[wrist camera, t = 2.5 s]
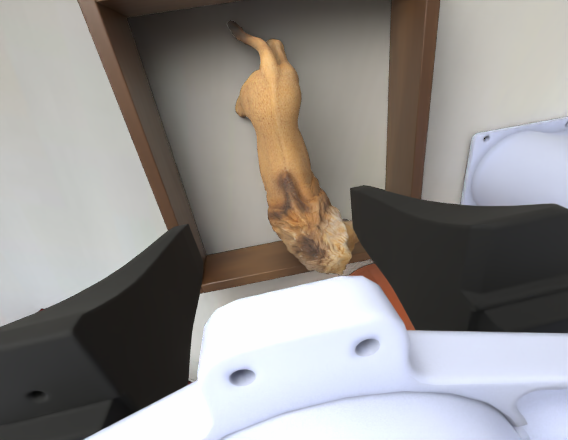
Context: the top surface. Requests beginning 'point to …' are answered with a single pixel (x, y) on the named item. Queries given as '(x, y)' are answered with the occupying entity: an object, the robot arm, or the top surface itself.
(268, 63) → the lion figurine
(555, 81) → the top surface
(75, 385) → the robot arm
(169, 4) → the wooden frame
